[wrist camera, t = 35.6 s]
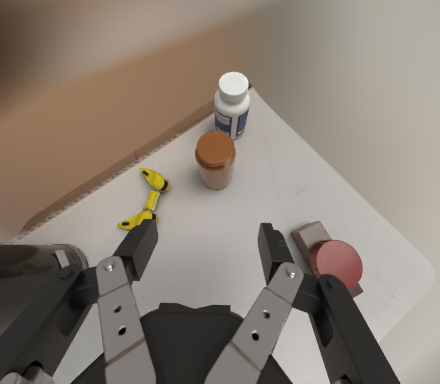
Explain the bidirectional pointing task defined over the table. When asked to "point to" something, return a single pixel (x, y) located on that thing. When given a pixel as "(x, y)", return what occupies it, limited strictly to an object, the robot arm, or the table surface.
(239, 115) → the pill bottle
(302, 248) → the lid rest
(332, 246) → the jar lid
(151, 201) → the yellow curved piece
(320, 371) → the table surface
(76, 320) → the robot arm
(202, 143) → the jar
